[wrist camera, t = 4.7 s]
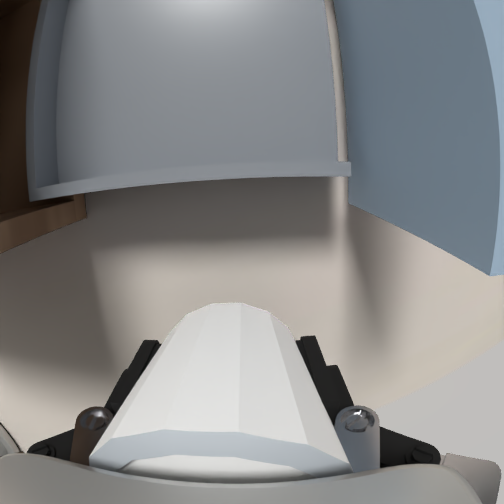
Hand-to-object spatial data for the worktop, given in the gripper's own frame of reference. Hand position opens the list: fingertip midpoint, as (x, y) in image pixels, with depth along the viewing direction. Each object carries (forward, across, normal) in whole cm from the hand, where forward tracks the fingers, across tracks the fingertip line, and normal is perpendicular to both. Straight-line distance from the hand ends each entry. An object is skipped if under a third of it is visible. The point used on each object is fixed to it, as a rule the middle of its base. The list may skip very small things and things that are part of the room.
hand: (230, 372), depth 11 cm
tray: (+2, +1, -13) cm, 14 cm away
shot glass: (+1, 0, 0) cm, 1 cm away
